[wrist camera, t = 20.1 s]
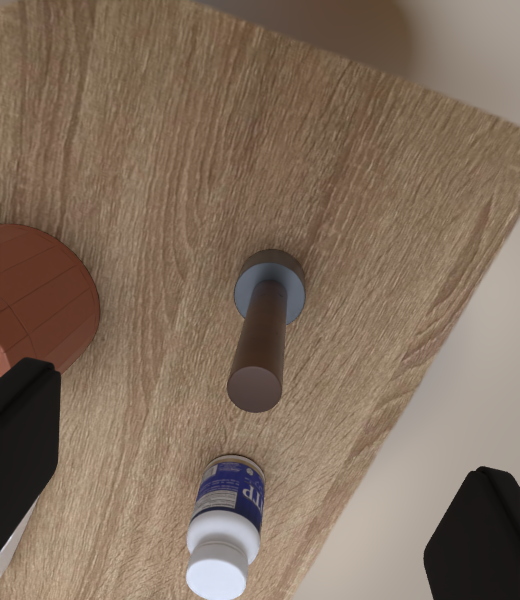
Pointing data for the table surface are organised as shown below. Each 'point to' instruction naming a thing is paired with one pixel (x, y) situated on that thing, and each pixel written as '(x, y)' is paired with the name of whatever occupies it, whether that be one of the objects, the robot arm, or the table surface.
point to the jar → (43, 300)
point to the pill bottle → (225, 527)
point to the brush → (264, 327)
